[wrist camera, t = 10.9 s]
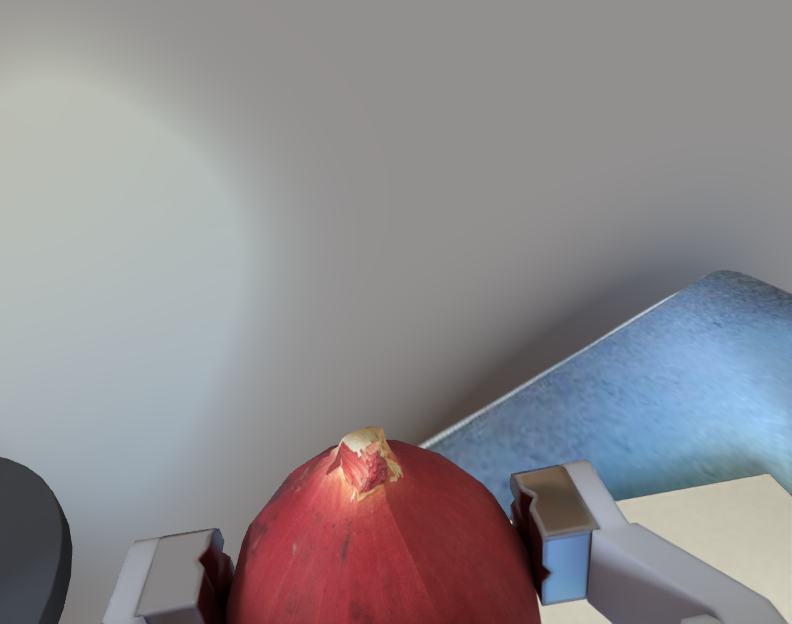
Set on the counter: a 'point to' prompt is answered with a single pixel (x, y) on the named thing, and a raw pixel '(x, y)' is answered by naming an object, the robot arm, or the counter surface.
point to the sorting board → (714, 538)
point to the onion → (382, 544)
